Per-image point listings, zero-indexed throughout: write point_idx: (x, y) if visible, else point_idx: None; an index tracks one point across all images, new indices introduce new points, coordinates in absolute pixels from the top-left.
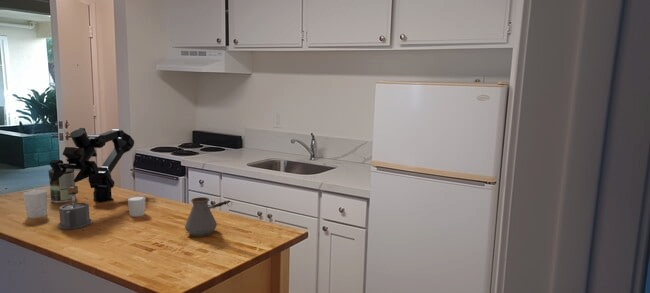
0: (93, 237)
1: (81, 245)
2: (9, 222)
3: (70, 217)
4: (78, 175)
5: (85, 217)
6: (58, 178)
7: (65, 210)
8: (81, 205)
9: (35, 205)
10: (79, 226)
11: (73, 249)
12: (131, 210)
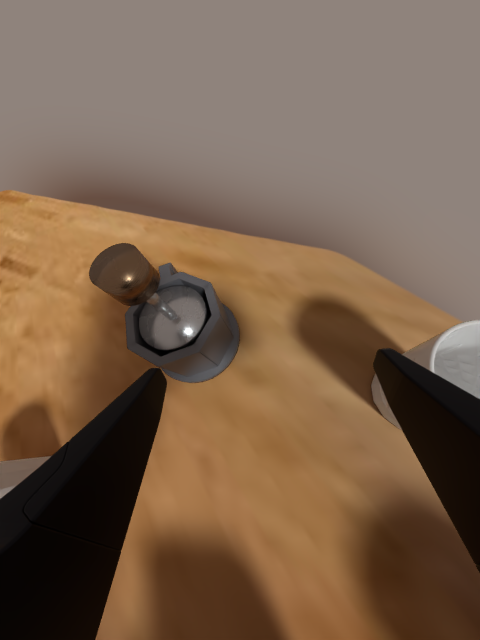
0: None
1: None
2: (422, 310)
3: None
4: (98, 421)
5: None
6: (421, 464)
7: (177, 274)
8: (151, 334)
9: (404, 353)
10: None
11: (126, 229)
12: (35, 459)
